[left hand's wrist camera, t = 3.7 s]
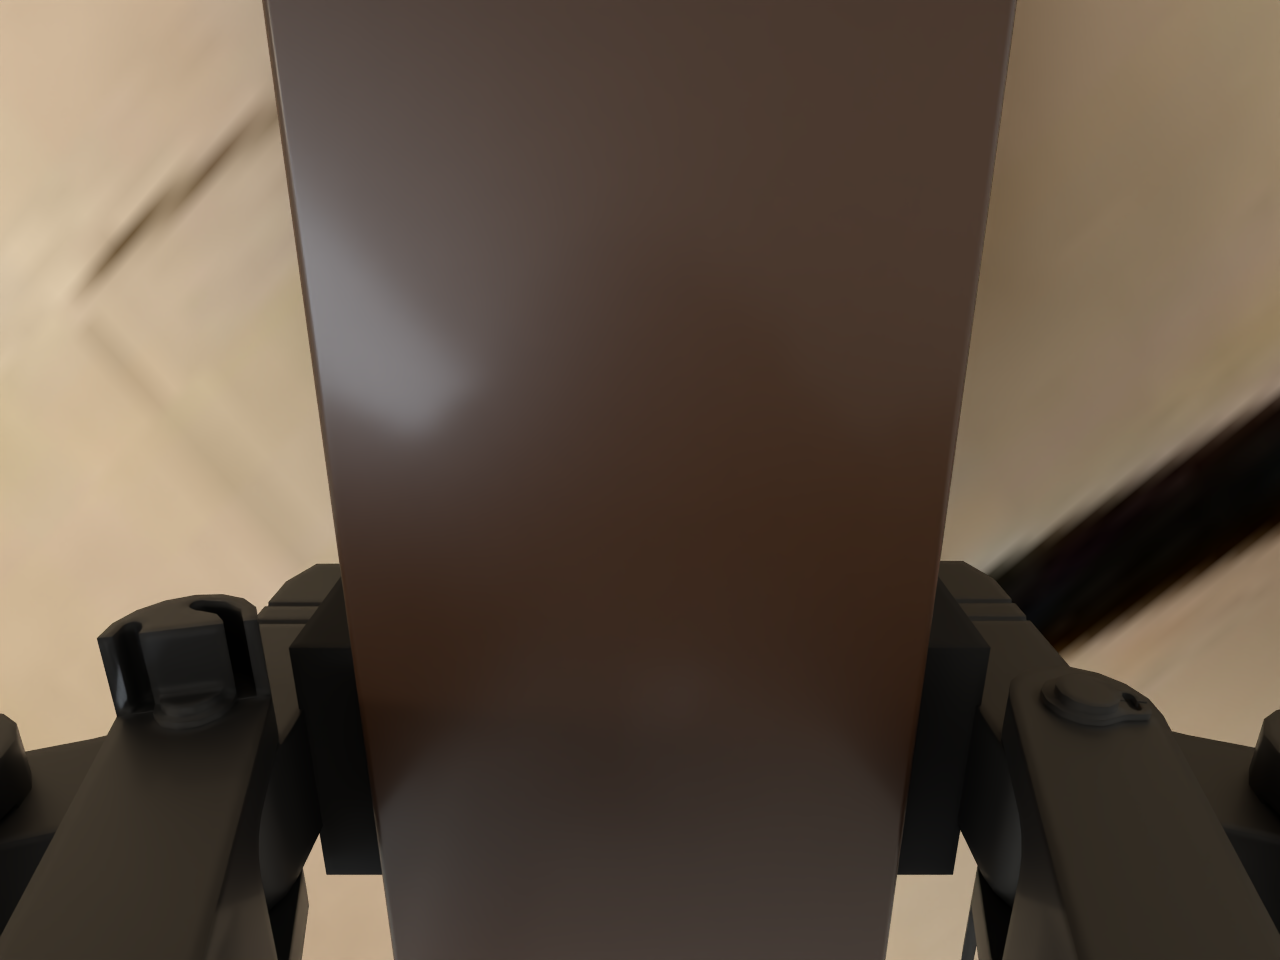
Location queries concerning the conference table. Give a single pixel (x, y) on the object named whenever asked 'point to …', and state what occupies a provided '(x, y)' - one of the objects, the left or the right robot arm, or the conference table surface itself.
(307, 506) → the conference table surface
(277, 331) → the conference table surface
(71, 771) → the left robot arm
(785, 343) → the walnut beam
